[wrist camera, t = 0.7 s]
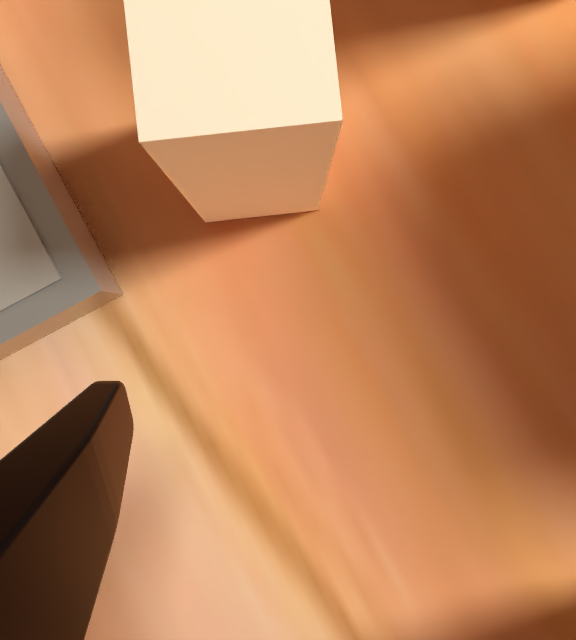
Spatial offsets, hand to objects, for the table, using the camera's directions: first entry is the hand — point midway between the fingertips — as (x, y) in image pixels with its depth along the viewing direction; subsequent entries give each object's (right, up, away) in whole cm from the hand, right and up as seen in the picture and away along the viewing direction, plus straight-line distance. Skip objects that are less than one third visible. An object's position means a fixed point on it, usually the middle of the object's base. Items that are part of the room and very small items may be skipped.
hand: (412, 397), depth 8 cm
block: (-3, +8, +13) cm, 15 cm away
